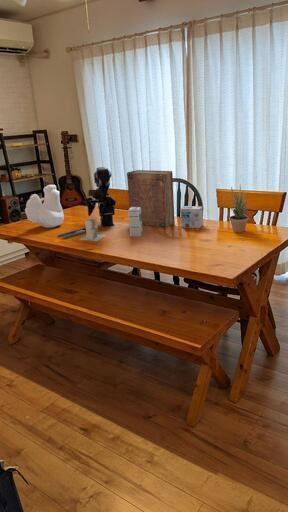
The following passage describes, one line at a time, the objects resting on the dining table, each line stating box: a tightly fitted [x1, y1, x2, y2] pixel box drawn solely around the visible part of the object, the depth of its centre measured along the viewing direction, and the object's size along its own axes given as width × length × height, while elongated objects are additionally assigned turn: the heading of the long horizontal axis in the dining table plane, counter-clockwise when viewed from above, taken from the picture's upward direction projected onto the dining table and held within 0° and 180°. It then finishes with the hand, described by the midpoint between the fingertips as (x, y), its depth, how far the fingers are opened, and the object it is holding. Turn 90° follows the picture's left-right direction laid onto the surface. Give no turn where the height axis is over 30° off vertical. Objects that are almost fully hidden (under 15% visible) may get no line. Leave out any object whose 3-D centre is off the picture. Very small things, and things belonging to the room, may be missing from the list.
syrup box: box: [127, 207, 144, 237], centre depth 214 cm, size 6×6×14 cm
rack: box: [57, 227, 86, 240], centre depth 225 cm, size 18×7×2 cm, turn 133°
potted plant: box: [228, 184, 250, 233], centre depth 207 cm, size 10×10×25 cm
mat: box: [78, 234, 107, 242], centre depth 216 cm, size 11×11×1 cm
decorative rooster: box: [24, 184, 65, 229], centre depth 242 cm, size 25×16×25 cm, turn 129°
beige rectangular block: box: [84, 216, 99, 239], centre depth 214 cm, size 7×3×10 cm, turn 158°
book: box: [126, 169, 176, 229], centre depth 232 cm, size 25×9×30 cm, turn 51°
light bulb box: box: [180, 205, 204, 229], centre depth 224 cm, size 11×7×11 cm, turn 68°
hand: (95, 215), depth 221 cm, fingers open, 9 cm apart
